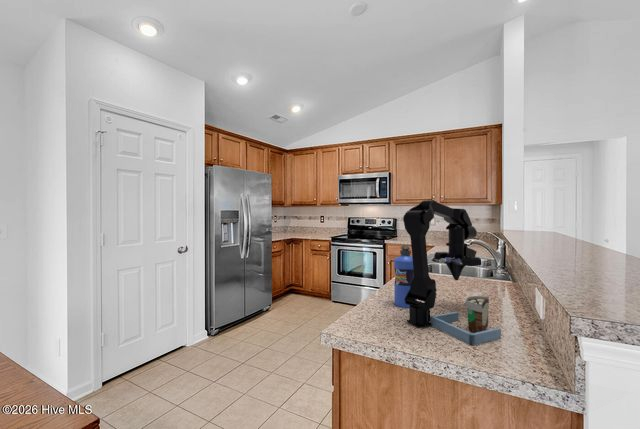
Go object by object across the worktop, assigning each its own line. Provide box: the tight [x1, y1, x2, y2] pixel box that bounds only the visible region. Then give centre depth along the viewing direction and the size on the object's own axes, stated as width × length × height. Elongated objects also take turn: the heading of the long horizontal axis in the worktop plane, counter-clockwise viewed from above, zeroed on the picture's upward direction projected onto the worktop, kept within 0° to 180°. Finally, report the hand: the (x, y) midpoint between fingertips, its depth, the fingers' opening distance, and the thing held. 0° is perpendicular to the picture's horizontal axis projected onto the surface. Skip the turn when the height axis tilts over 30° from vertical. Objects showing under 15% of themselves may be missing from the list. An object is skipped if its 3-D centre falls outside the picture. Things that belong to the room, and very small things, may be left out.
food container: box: [464, 295, 490, 333], centre depth 99 cm, size 12×6×10 cm, turn 141°
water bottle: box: [393, 244, 418, 309], centre depth 125 cm, size 9×9×25 cm
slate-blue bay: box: [430, 311, 502, 347], centre depth 97 cm, size 12×17×3 cm
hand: (456, 280), depth 118 cm, fingers closed
